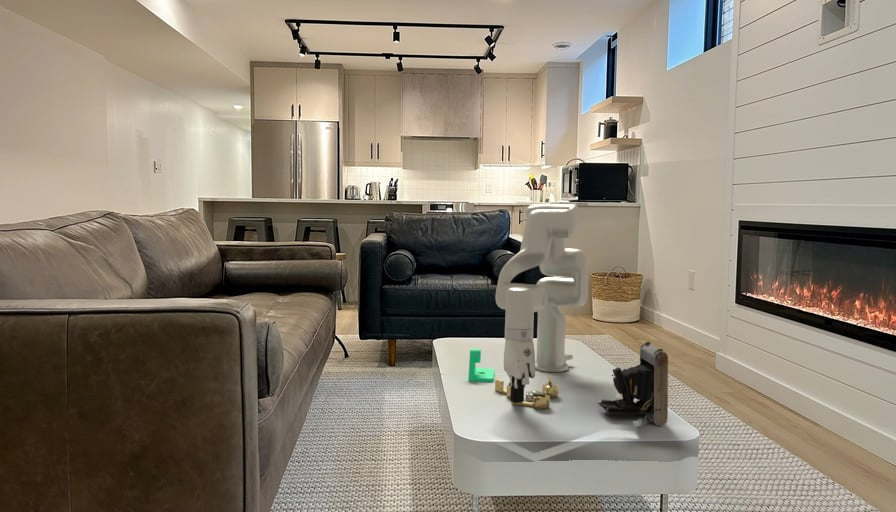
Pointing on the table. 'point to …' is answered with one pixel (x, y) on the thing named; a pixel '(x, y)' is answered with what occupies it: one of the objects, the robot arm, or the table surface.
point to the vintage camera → (642, 387)
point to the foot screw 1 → (499, 387)
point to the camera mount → (479, 373)
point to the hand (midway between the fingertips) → (517, 401)
